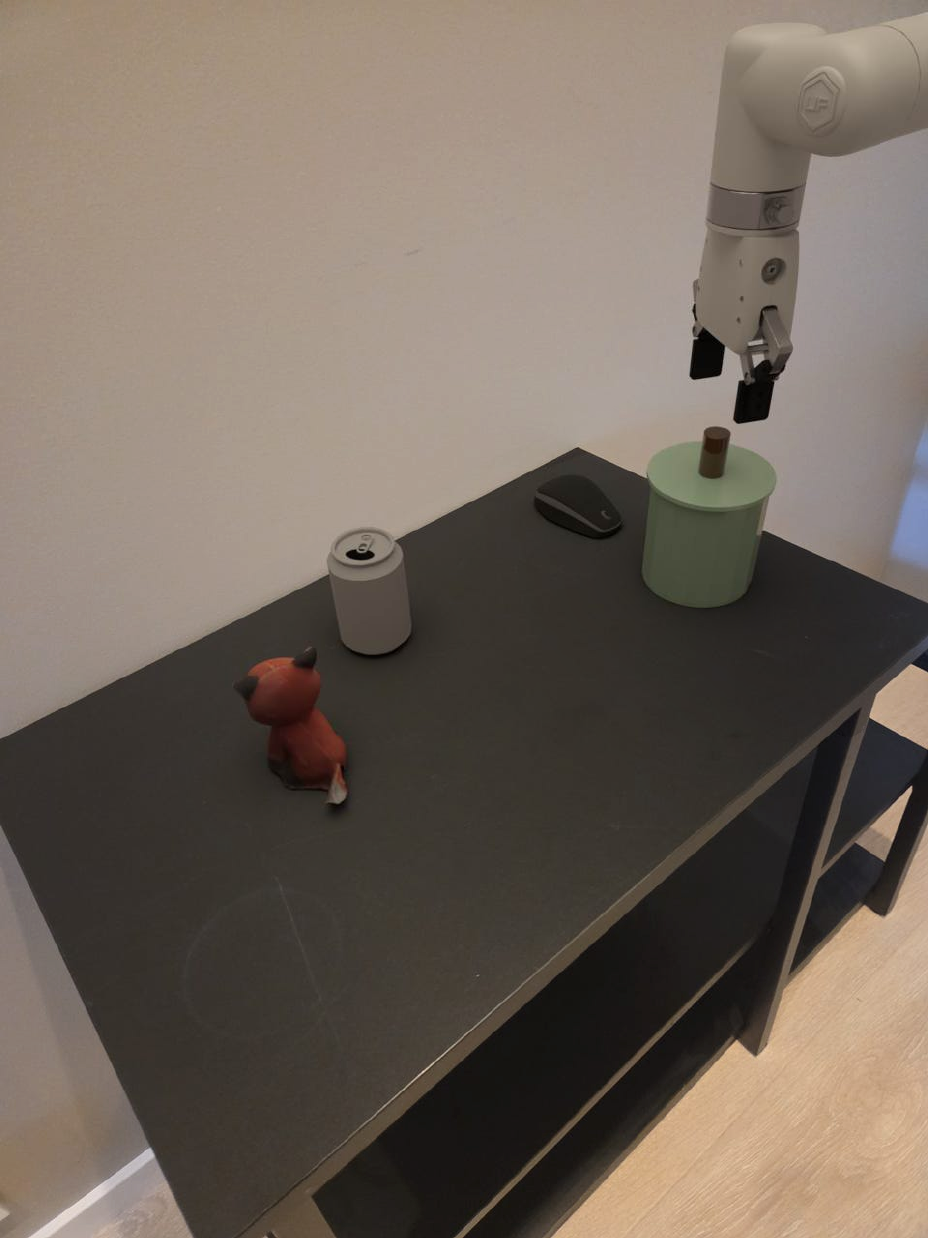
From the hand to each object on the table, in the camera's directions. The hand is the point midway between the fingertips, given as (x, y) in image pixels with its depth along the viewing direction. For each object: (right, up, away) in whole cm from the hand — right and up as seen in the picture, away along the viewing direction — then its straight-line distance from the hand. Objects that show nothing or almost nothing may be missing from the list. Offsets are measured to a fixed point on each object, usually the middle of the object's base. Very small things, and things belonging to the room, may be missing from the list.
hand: (726, 397), depth 83 cm
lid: (0, -7, +6) cm, 9 cm away
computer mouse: (-11, -8, +24) cm, 28 cm away
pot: (+1, -16, +14) cm, 21 cm away
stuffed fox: (-38, -35, -5) cm, 52 cm away
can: (-34, -23, +9) cm, 42 cm away
